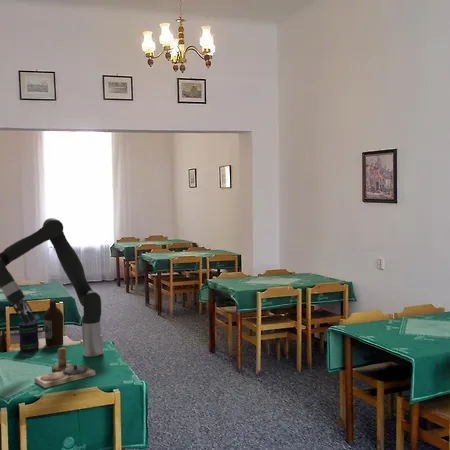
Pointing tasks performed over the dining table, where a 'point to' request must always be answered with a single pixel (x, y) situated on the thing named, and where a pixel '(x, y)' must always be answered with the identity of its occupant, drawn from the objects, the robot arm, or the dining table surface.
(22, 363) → the dining table surface
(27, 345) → the storage jar
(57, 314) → the olive oil
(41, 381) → the gear board
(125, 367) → the dining table surface
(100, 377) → the dining table surface
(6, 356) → the dining table surface
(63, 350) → the walnut gear
